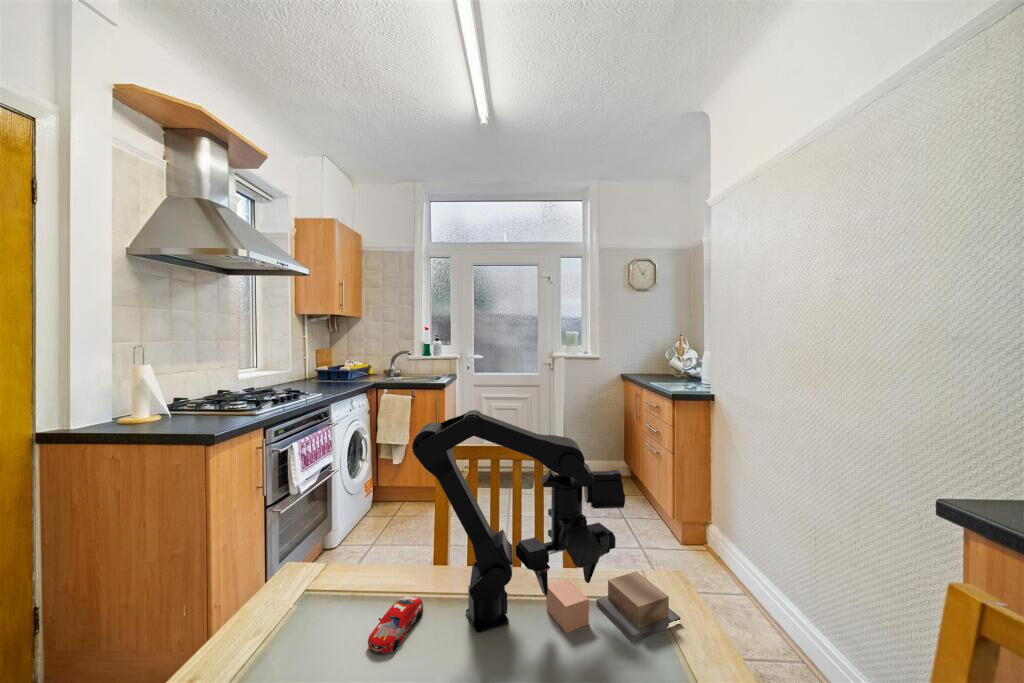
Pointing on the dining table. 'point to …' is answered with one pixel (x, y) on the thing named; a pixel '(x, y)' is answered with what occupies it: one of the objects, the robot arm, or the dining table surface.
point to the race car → (395, 625)
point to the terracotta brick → (567, 605)
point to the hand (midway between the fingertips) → (566, 588)
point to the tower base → (629, 625)
